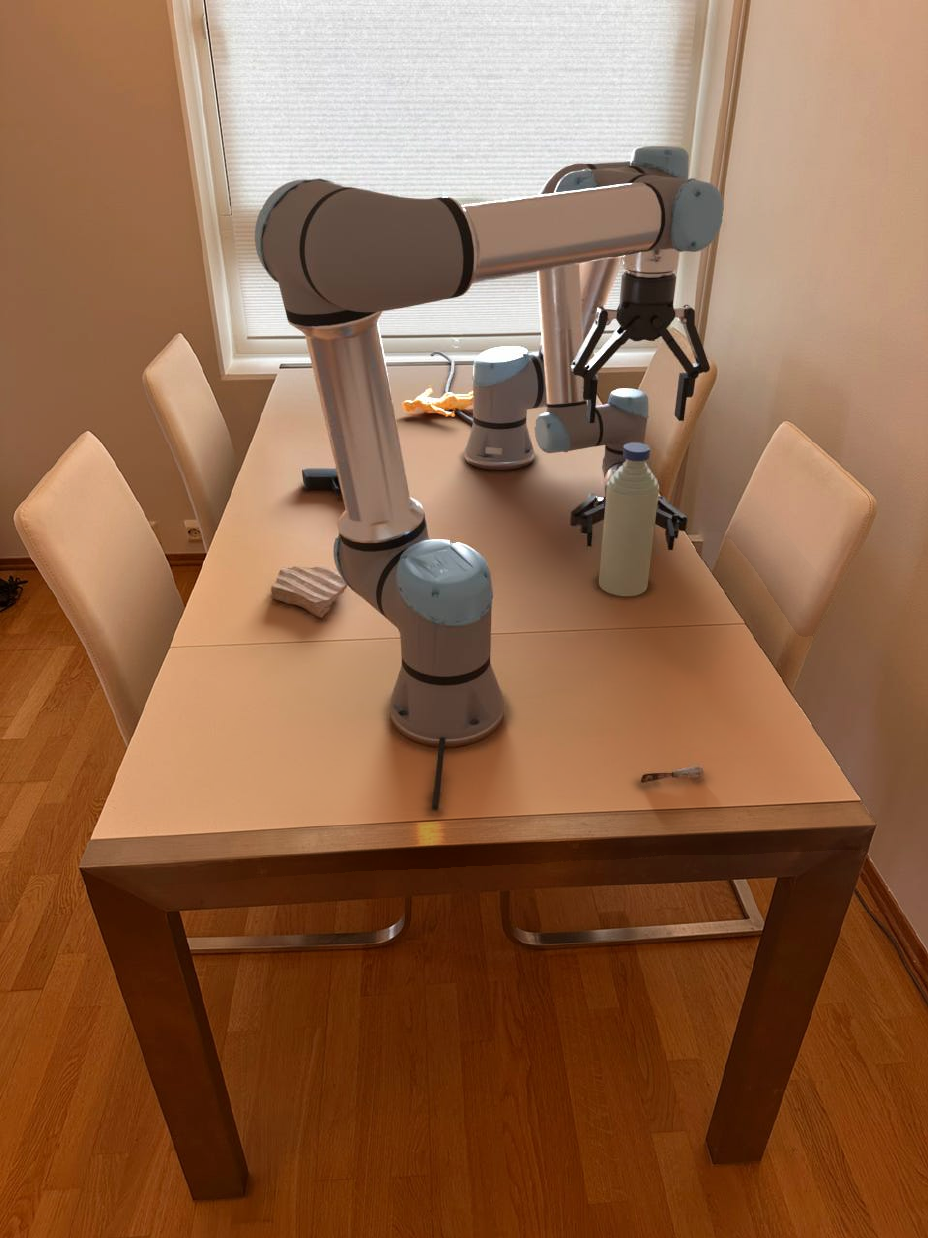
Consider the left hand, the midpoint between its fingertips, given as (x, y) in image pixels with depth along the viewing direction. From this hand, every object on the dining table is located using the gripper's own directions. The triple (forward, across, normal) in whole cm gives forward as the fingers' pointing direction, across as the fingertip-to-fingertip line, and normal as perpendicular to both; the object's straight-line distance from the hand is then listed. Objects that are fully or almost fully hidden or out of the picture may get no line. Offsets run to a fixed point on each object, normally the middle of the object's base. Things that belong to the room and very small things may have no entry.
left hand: (634, 419), depth 136 cm
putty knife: (+29, -3, -49) cm, 57 cm away
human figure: (+29, -24, +90) cm, 97 cm away
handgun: (+29, -50, +39) cm, 70 cm away
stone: (+29, -52, -2) cm, 59 cm away
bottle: (+29, +1, 0) cm, 29 cm away
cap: (+5, +1, 0) cm, 5 cm away
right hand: (+22, +2, +3) cm, 23 cm away
